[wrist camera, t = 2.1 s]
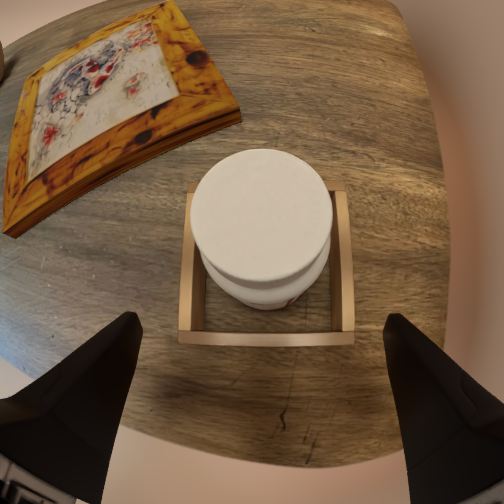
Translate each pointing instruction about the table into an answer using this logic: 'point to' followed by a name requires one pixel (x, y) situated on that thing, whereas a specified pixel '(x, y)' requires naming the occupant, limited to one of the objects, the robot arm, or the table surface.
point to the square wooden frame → (339, 334)
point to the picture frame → (110, 111)
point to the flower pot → (1, 62)
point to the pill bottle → (262, 226)
